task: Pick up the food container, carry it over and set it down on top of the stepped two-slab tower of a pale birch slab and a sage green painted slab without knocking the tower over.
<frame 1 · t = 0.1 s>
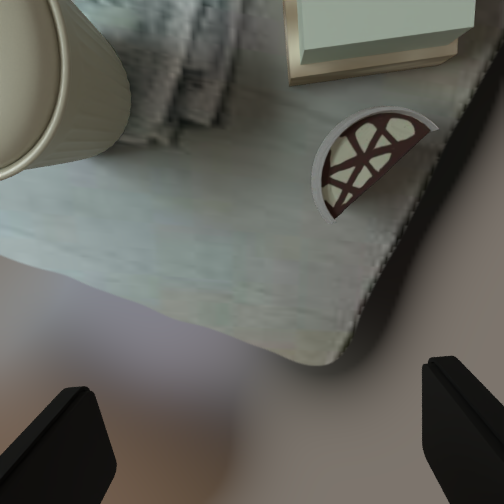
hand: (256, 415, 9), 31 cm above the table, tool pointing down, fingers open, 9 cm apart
lower slab: (359, 15, 33), on the table, touching upper slab
food container: (337, 156, 36), on the table
canister: (83, 98, 36), on the table
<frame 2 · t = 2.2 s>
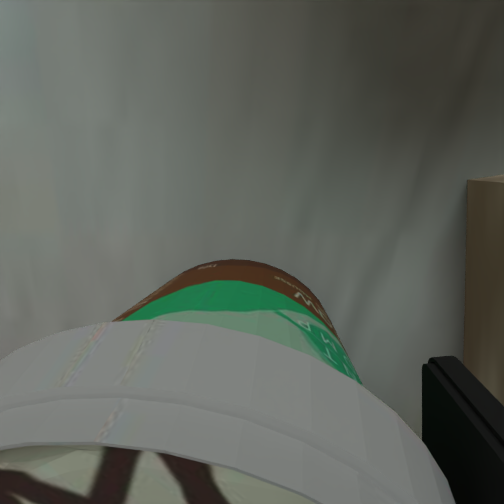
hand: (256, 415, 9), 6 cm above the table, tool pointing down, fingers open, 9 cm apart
food container: (277, 313, 14), on the table
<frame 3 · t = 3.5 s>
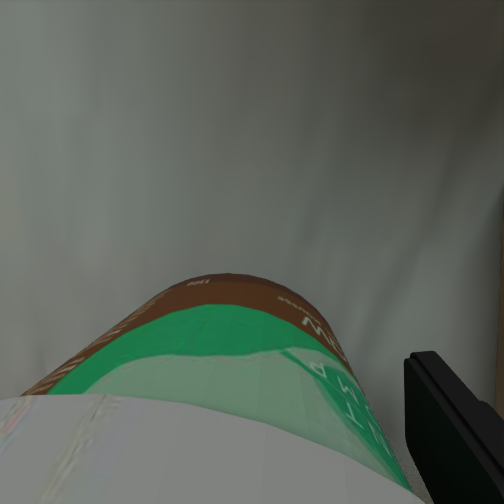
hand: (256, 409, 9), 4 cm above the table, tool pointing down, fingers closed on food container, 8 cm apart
food container: (279, 335, 12), on the table, touching gripper
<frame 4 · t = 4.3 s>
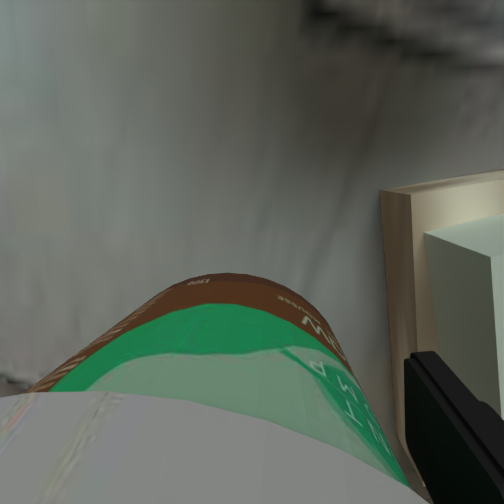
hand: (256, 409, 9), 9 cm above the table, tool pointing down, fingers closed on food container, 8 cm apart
lower slab: (487, 307, 18), on the table, touching upper slab
food container: (279, 334, 12), point 6 cm above the table, touching gripper
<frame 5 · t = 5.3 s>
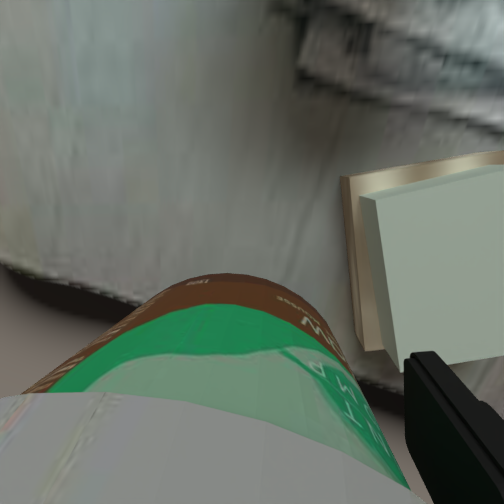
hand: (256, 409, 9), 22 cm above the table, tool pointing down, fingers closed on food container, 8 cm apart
lower slab: (409, 248, 30), on the table, touching upper slab
food container: (278, 335, 12), point 18 cm above the table, touching gripper
upper slab: (431, 262, 26), point 3 cm above the table, touching lower slab
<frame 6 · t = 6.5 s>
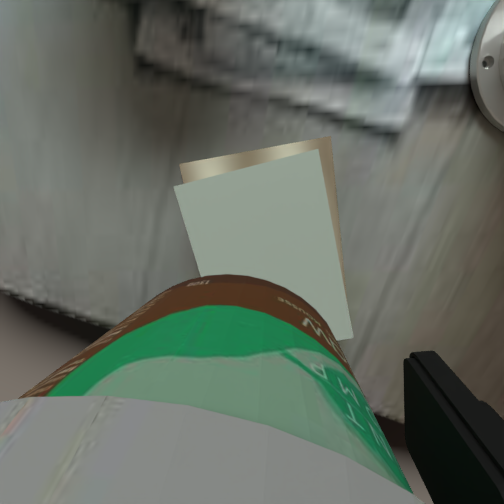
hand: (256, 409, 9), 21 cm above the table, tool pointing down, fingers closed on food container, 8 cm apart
lower slab: (269, 238, 30), on the table, touching upper slab
food container: (279, 336, 12), point 18 cm above the table, touching gripper
upper slab: (268, 251, 26), point 3 cm above the table, touching lower slab
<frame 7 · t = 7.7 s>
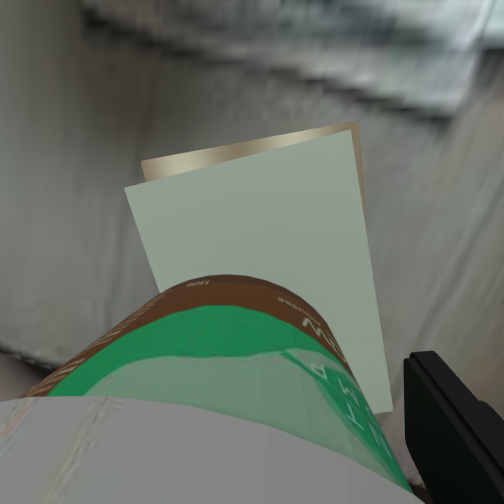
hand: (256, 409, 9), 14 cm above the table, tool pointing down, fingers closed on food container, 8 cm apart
lower slab: (268, 260, 22), on the table, touching upper slab
food container: (279, 336, 12), point 10 cm above the table, touching gripper
upper slab: (269, 278, 19), point 3 cm above the table, touching lower slab
when the fingers open (12 cm above the table, at t = 9.0 s): food container drops 2 cm, resting on upper slab.
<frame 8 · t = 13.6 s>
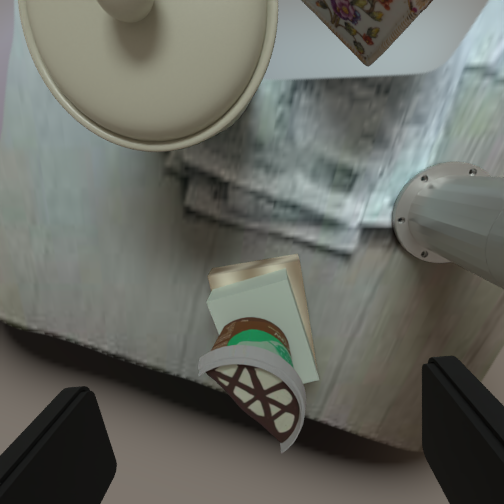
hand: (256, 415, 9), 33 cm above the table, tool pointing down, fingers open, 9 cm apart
lower slab: (264, 310, 45), on the table, touching upper slab
food container: (268, 337, 37), point 7 cm above the table, touching upper slab
canister: (200, 79, 37), on the table
upper slab: (264, 325, 41), point 3 cm above the table, touching food container, lower slab
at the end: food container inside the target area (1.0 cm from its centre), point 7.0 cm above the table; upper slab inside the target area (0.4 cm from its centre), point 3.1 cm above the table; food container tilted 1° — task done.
